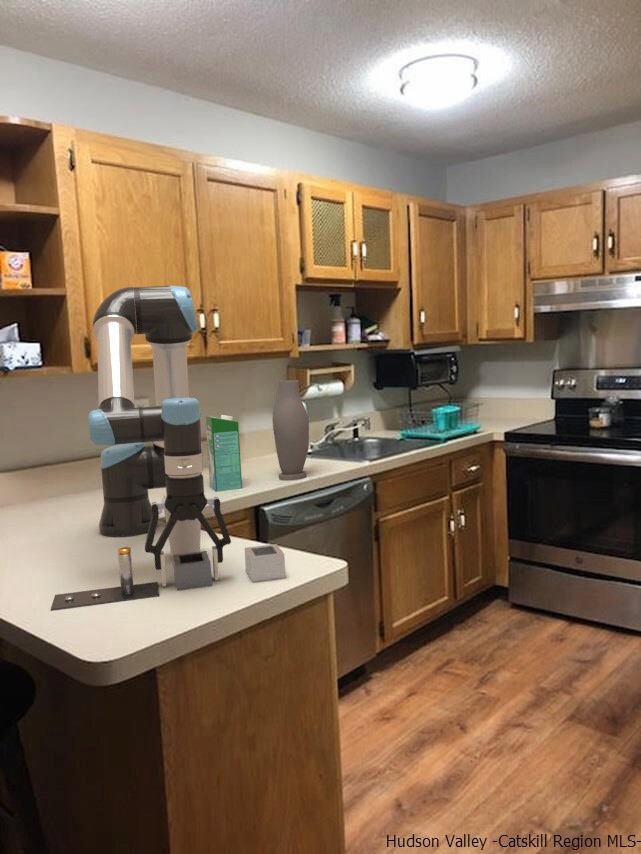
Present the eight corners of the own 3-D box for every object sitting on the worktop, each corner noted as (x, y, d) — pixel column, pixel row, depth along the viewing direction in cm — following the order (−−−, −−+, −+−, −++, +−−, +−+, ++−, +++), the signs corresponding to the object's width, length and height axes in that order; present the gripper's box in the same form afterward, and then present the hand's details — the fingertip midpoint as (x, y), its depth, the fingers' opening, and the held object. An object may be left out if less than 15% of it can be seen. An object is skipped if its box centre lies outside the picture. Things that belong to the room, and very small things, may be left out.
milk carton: (242, 488, 237) (237, 414, 234) (216, 491, 234) (211, 417, 231) (235, 483, 245) (231, 412, 242) (210, 486, 242) (205, 415, 239)
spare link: (245, 570, 150) (244, 547, 150) (277, 566, 152) (276, 544, 151) (252, 582, 143) (250, 558, 142) (285, 577, 144) (284, 554, 144)
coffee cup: (188, 547, 169) (184, 486, 168) (215, 553, 163) (211, 490, 161) (156, 558, 162) (151, 494, 160) (183, 564, 156) (178, 499, 154)
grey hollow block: (174, 577, 147) (172, 554, 147) (207, 573, 149) (206, 550, 149) (176, 590, 140) (175, 566, 139) (212, 585, 141) (210, 561, 141)
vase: (297, 481, 243) (292, 381, 240) (266, 479, 250) (262, 381, 246) (317, 475, 254) (313, 379, 251) (287, 473, 261) (283, 379, 258)
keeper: (55, 596, 140) (51, 551, 138) (157, 583, 145) (154, 540, 143) (50, 610, 132) (46, 563, 131) (159, 596, 137) (155, 551, 136)
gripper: (126, 482, 135) (133, 593, 138) (242, 473, 141) (247, 580, 143) (126, 475, 142) (133, 581, 145) (237, 467, 148) (241, 569, 151)
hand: (190, 581), depth 144 cm, fingers open, 10 cm apart
